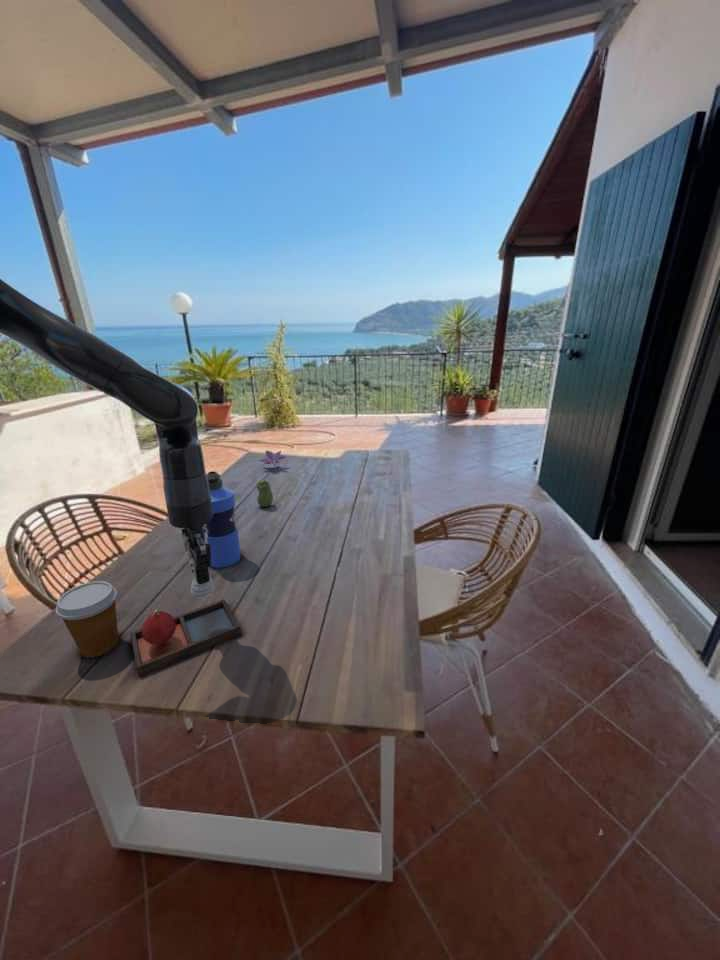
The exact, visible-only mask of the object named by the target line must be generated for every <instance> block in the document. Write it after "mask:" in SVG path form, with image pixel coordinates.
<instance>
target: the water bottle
mask: <svg viewBox="0 0 720 960" xmlns="http://www.w3.org/2000/svg"><path fill="white" fill-rule="evenodd" d="M206 475H207V479H208V483H209V489H210V496H211V504H212V511H213V517H212V519H211V520H210V521H209V522H207V523H205V524H204V525H203V527H204V529H206V530H207V534H208V538H207V542H208V543H209V544H210V546H211V566H210V567H211V568H214V569H215V568H216V569H217V568H220V569H221V568H227V567H230V566H232V565H235V564H237V563H238V562H239V561H240V559H241V557H242V556H241V555H242V554H241V548H240V539H239V531H238V526H237V522H236V518H235V511H236V510H235V506H236V499H235V492H234V490H233V489H230V488H226V487H223V480H222V479H221V477H222V475H221V474H219V473H218V472H217V471H209V472H207V473H206Z"/></svg>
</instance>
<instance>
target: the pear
mask: <svg viewBox="0 0 720 960" xmlns="http://www.w3.org/2000/svg"><path fill="white" fill-rule="evenodd" d="M256 489H257V490H258V495H257V498H256V501H257V504H258V505H259V506H260V507H263V508H267V507H269V506H271V505H272V503H273V502H274V501H273V500H274V494H273V491H272V490H271V484H270V483H269V481H268V479H262V480H259V481H258V482H257V484H256Z"/></svg>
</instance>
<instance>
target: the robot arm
mask: <svg viewBox="0 0 720 960" xmlns="http://www.w3.org/2000/svg"><path fill="white" fill-rule="evenodd" d="M0 334H2V335H4V336H5V337H8V338H10V339H11V340H13V341H15V342H16V343H18V344H20V345H21V346H23V347H25V348H26V349H28V350H29V351H31V352H33V353H34V354H35V355H37V356H38V357H40V358H42V359H43V360H45V361H46V362H48V363H49V364H51V365H52V366H54V367H55V368H57V369H58V370H60V371H62V372H63V373H65V374H67V375H68V376H70V377H72V378H74V380H77V381H80V382H81V383H82V384H85V385H87V386H89V387H91V388H92V389H94V390H96V391H98V392H100V393H103V394H104V395H106V396H108V397H110V398H113V399H115V400H117V401H119V402H120V403H123V404H124V405H125V406H127V407H128V408H130V409H131V410H133V411H135V412H136V413H138V414H139V415H141V416H142V417H143V418H145V419H148V420H149V421H151V422H152V423H154V427H155V431H156V436H157V440H158V455H159V456H158V457H159V463H160V468H161V475H162V481H163V482H162V487H163V494H164V500H165V506H166V510H167V517H168V522H169V525H171V526H172V527H174V528H178V529H180V535H181V537H182V539H183V546H184V549H185V550H186V551H187V557H188V558H189V560H190V559H191V558H193V563H194V565H192V564H191V563H190V567H191V572H192V574H193V575H194V571H193V569H192V566H194V567H195V572H196V578H197V582H198V584H203V583H206V582H208V581H209V580H210V578H209V576H210V572H209V567H211V546H210V544H209V543H208V542H207V538H208V534H207V530H206V529H204V527H203V525H204V524H205V523H207V522H209V521H210V520H211V519H212V517H213V511H212V504H211V496H210V489H209V483H208V479H207V471H206V465H205V457H204V452H203V447H202V444H201V441H200V440H199V433H198V424H197V418H198V414H199V406H198V403H197V400H196V398H195V397H194V395H193V394H192V393H191V391H190V390H189V389H187V387H185V386H184V385H181V384H179V383H176V382H171V381H169V380H167V379H165V378H164V377H162V376H160V375H158V374H156V373H155V372H153V371H151V370H149V369H147V368H146V367H145V366H144V365H143V364H142V363H140V362H139V361H138V360H137V359H135V358H133V357H132V356H131V355H129V354H127V353H125V352H124V351H122V350H120V349H119V348H117V347H115V346H114V345H112V344H111V343H109V342H107V341H105V340H104V339H102V338H100V337H98V336H97V335H95V334H93V333H91V332H90V331H88V330H86V329H83V328H82V327H80V326H78V325H76V324H74V323H73V322H71V321H70V320H67V319H65V318H64V317H61V316H60V315H58V314H57V313H54V312H52V311H51V310H50V309H47V308H46V307H44V306H42V305H40V304H39V303H37V302H35V301H34V300H33V299H30V298H29V297H27V296H26V295H25V294H23V293H22V292H20V291H18V290H17V289H16V288H14V287H13V286H11V285H10V284H9V283H7V282H5V281H4V280H3V279H1V278H0Z"/></svg>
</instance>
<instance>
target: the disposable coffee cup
mask: <svg viewBox="0 0 720 960" xmlns="http://www.w3.org/2000/svg"><path fill="white" fill-rule="evenodd" d="M117 595H118V592H117V589H116V587H114V586H113V585H112V583H110V582H108V581H104V580H103V581H102V580H97V581H90V582H85V583H82V584H79V585H76V586H75V587H72V588H70V589H68V590H66V591H65V592H64V593H63V594H62V595H60V596H59V598H58V599H57V602H56V606H55V612H56V615H57V616H58V617H59V618H61V619H62V621H63V623H64V624H65V626H66V628H67V630H68V631H69V634H70V636H71V638H72V639H73V641H74V643H75V645H76V647H77V649H78V650H79V653H80V654H81V655H82V656H83V657H84V658H97V657H100V656H102V655H105V654H106V653H109V652H110V651H112V650H113V649H115V647H116V646H117V645H118V643H119V629H118V617H117V605H116V598H117Z"/></svg>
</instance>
